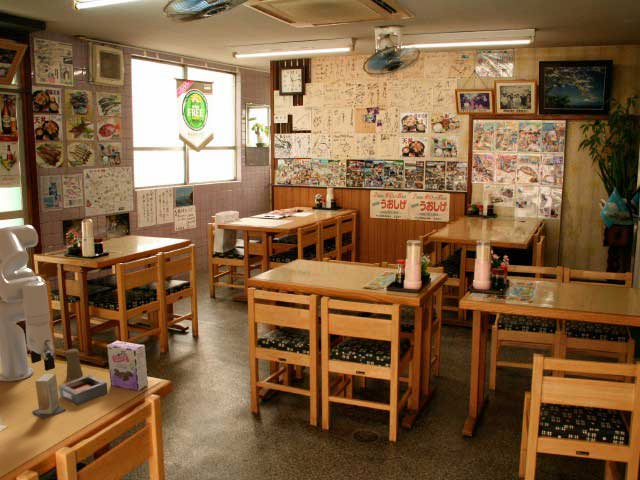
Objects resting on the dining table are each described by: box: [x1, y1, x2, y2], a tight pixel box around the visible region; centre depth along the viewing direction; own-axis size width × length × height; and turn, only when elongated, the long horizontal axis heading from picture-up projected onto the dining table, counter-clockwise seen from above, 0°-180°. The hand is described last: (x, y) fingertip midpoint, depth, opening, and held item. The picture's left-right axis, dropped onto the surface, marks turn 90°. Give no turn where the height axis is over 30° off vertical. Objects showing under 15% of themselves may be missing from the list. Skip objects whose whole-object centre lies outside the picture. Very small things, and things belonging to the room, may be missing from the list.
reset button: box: [73, 384, 92, 392], centre depth 220 cm, size 7×7×2 cm
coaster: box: [32, 405, 67, 420], centre depth 209 cm, size 8×8×1 cm
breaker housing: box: [58, 374, 109, 407], centre depth 220 cm, size 12×12×4 cm
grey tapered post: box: [64, 348, 84, 380], centre depth 238 cm, size 6×6×11 cm
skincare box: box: [35, 373, 61, 414], centre depth 208 cm, size 6×4×12 cm
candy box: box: [106, 340, 149, 392], centre depth 227 cm, size 14×6×16 cm, turn 65°
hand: (43, 365), depth 206 cm, fingers open, 9 cm apart
